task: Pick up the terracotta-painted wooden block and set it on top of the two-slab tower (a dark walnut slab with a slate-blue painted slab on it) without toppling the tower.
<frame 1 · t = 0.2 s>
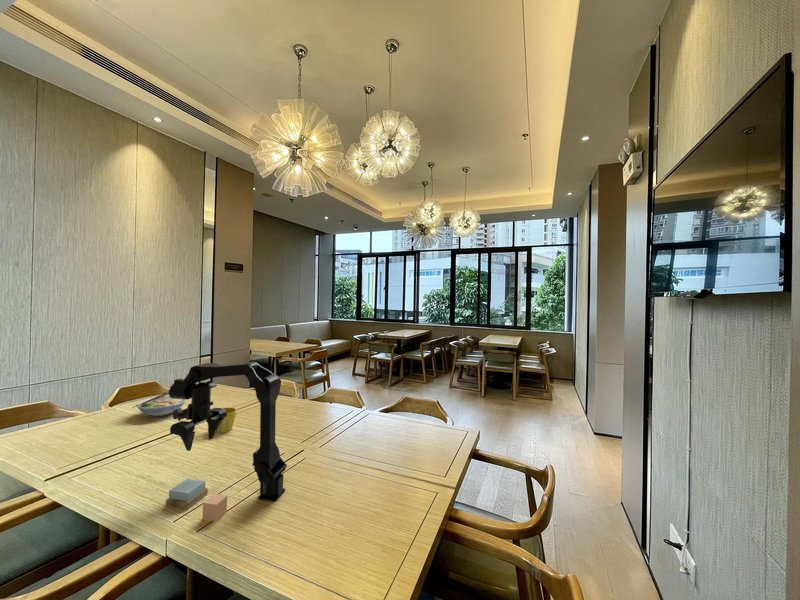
hand: (199, 444, 112), 14 cm above the table, fingers open, 9 cm apart
walnut slab: (187, 501, 104), on the table
ramen bowl: (162, 414, 179), on the table
clay block: (214, 515, 97), on the table
plant pot: (224, 430, 160), on the table
blue slab: (187, 493, 104), point 2 cm above the table
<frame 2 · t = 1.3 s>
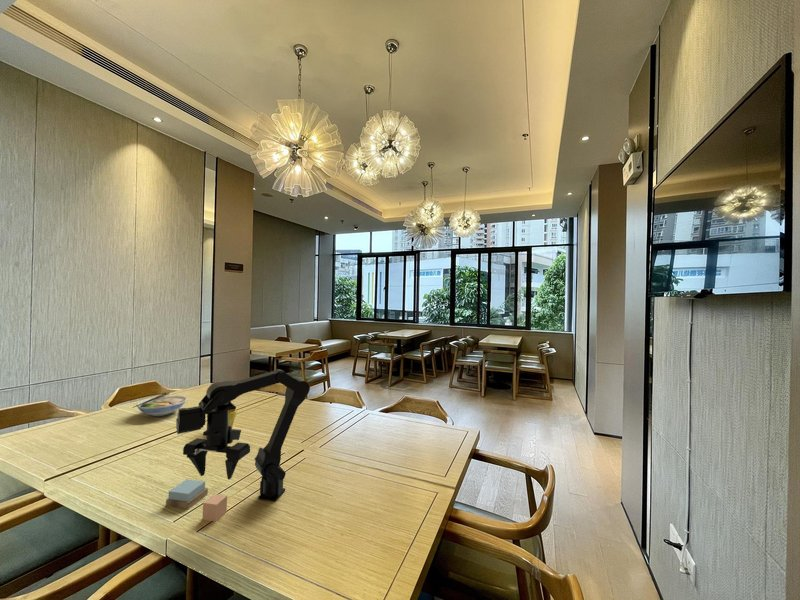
hand: (216, 477, 97), 12 cm above the table, fingers open, 9 cm apart
walnut slab: (187, 501, 104), on the table, touching blue slab
blue slab: (187, 493, 104), point 2 cm above the table, touching walnut slab
everything else where it was.
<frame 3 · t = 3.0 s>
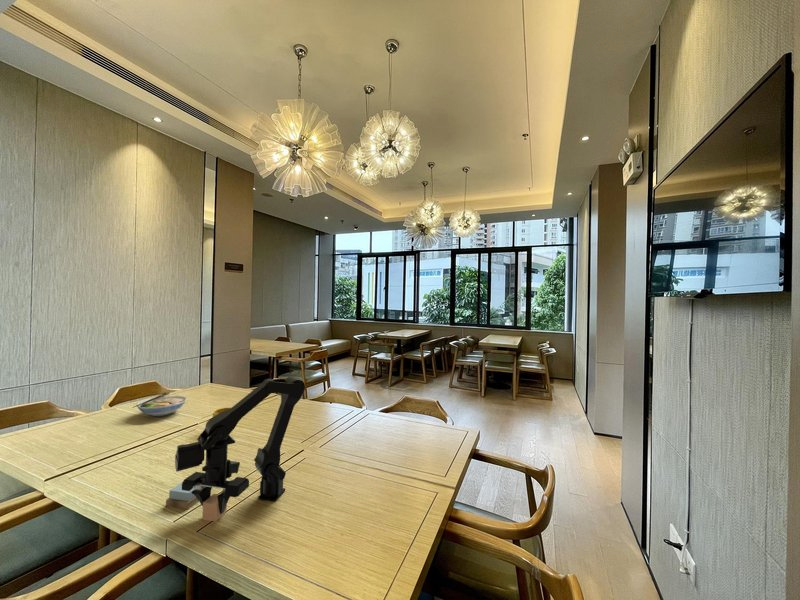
hand: (214, 512, 97), 1 cm above the table, fingers closed on clay block, 4 cm apart
clay block: (214, 515, 97), on the table, touching gripper
everything else where it was.
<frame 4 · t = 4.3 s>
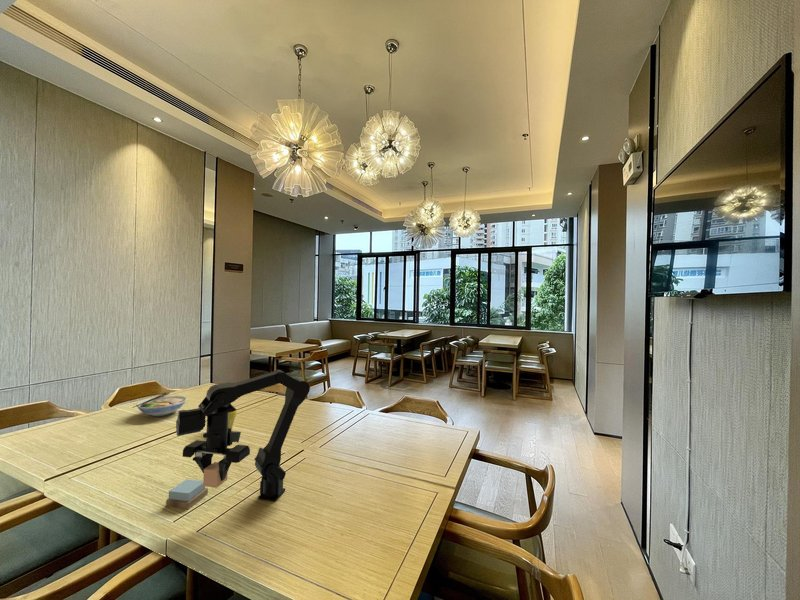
hand: (215, 479, 97), 11 cm above the table, fingers closed on clay block, 4 cm apart
clay block: (215, 482, 97), point 10 cm above the table, touching gripper
everything else where it was.
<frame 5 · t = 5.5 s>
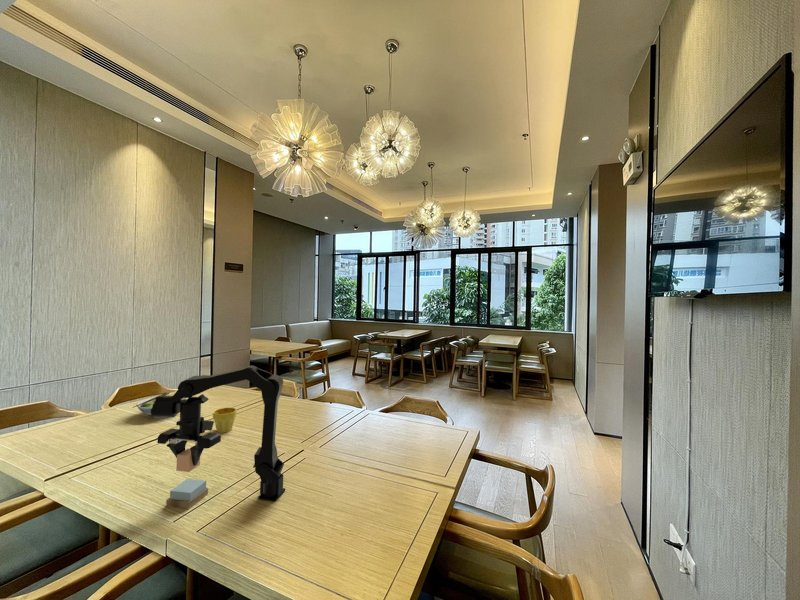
hand: (188, 464, 104), 12 cm above the table, fingers closed on clay block, 4 cm apart
clay block: (188, 467, 104), point 10 cm above the table, touching gripper
everything else where it was.
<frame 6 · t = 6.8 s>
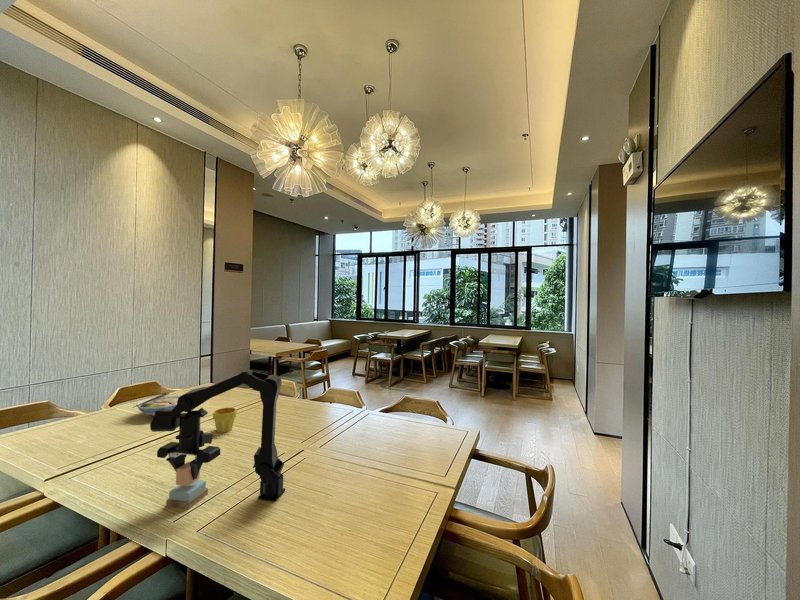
hand: (188, 478, 104), 7 cm above the table, fingers closed on clay block, 4 cm apart
walnut slab: (187, 501, 104), on the table
clay block: (187, 481, 104), point 6 cm above the table, touching gripper
blue slab: (187, 493, 104), point 2 cm above the table
everything else where it was.
when the fingers open (7 cm above the table, at t = 6.8 s): clay block drops 2 cm, resting on blue slab.
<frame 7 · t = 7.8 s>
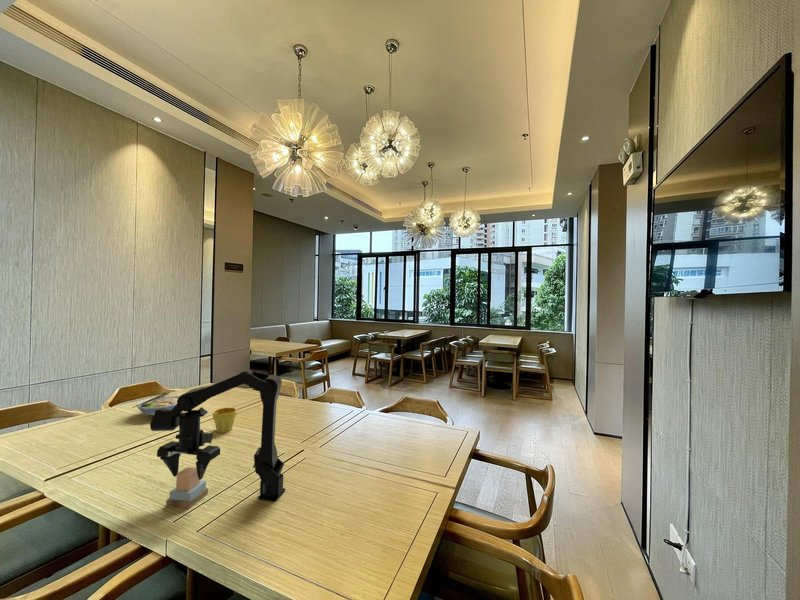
hand: (188, 477, 104), 7 cm above the table, fingers open, 9 cm apart
walnut slab: (187, 501, 104), on the table, touching blue slab
clay block: (188, 486, 104), point 4 cm above the table, touching blue slab
blue slab: (188, 493, 104), point 2 cm above the table, touching clay block, walnut slab
everything else where it was.
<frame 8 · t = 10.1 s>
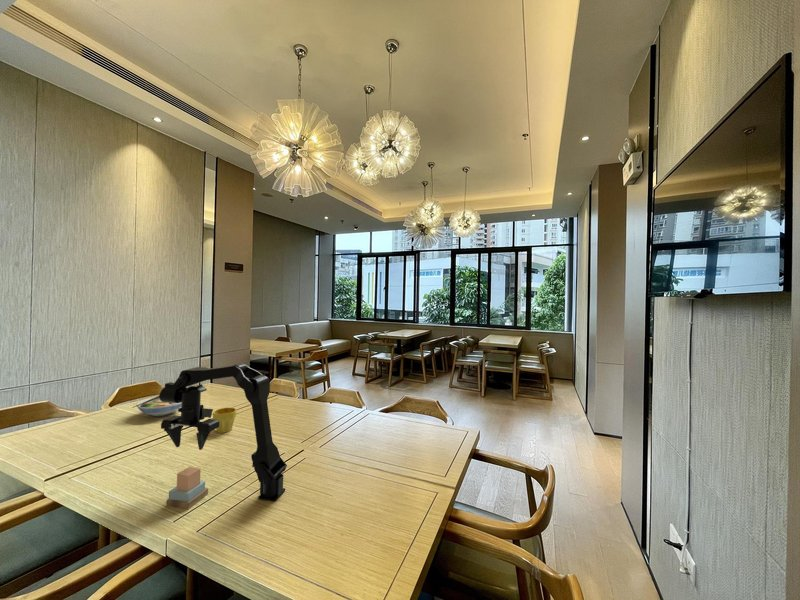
hand: (189, 448, 113), 12 cm above the table, fingers open, 9 cm apart
nothing on the table moved.
at the end: clay block 0.3 cm from the blue slab (horizontally); clay block point 4.3 cm above the table; blue slab tilted 0° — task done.
